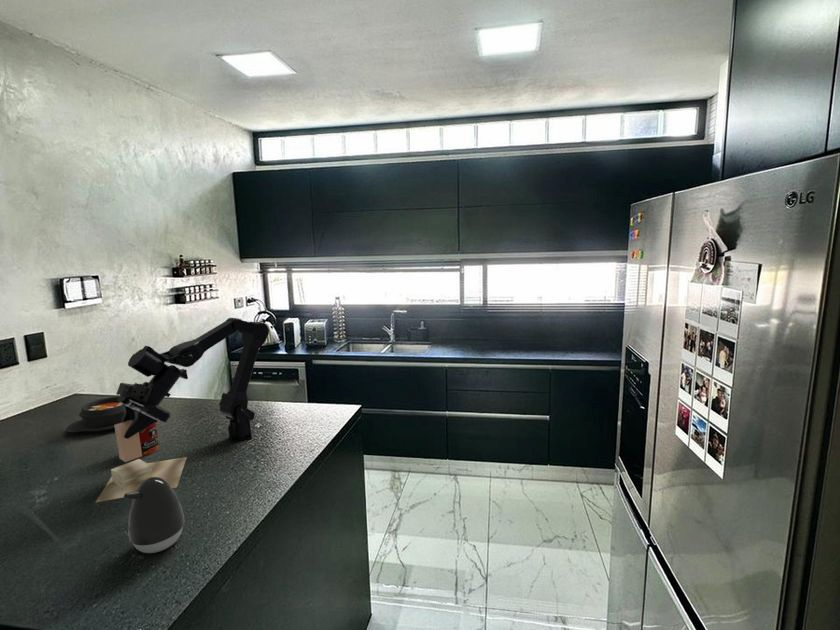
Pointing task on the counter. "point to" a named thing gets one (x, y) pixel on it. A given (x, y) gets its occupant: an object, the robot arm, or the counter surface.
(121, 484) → the slab bottom
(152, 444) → the canned food
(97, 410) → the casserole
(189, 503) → the counter surface
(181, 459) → the beige square cloth
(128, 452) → the post
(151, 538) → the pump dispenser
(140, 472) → the slab top
